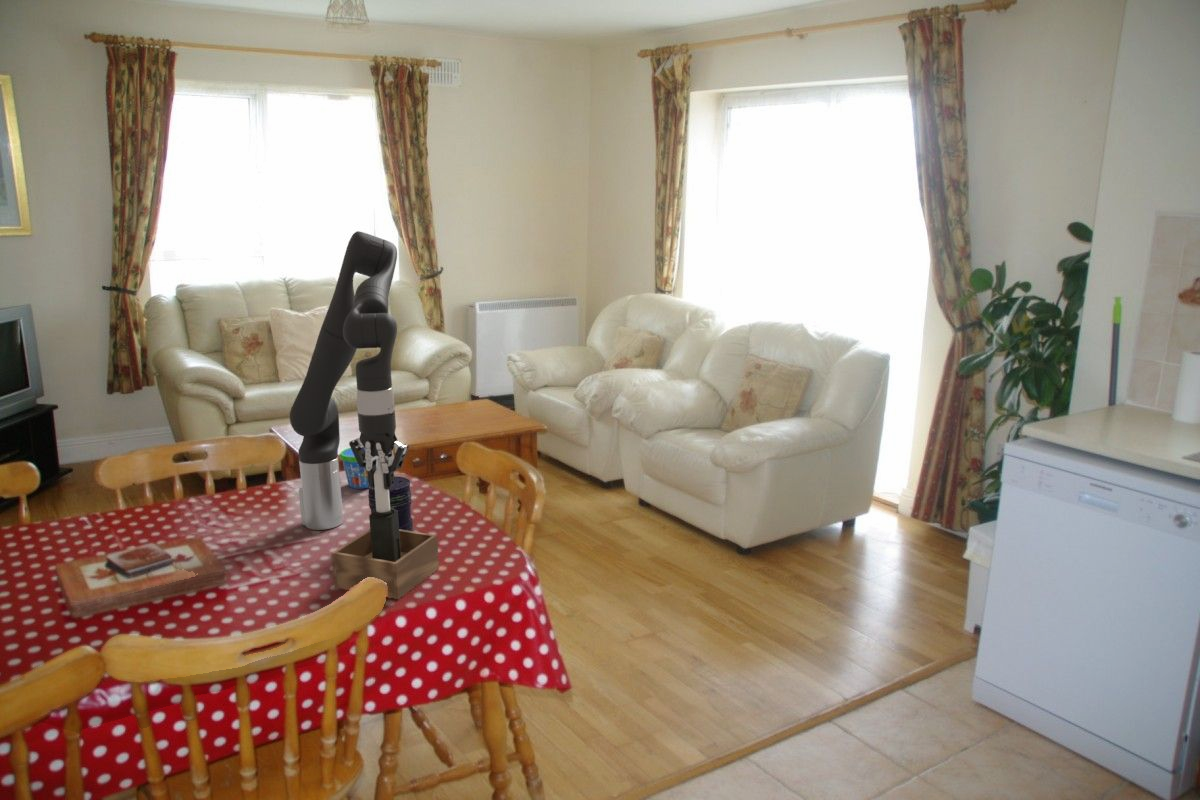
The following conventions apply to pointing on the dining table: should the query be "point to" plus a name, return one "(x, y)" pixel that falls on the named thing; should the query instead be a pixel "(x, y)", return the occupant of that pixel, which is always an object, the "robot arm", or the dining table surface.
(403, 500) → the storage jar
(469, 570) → the dining table surface
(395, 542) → the candle
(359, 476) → the snack cup
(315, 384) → the robot arm
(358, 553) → the peg box
